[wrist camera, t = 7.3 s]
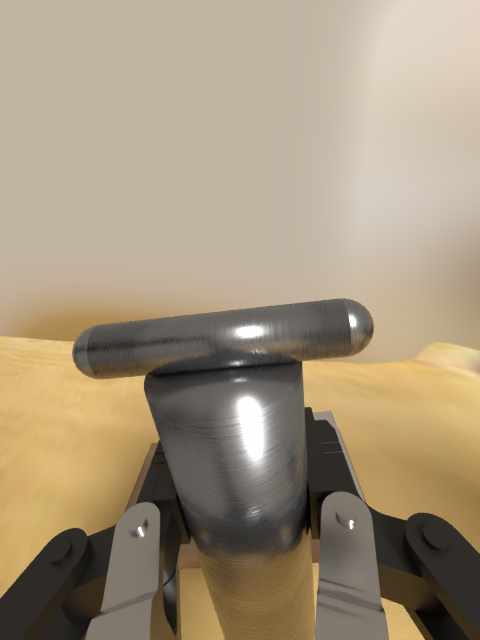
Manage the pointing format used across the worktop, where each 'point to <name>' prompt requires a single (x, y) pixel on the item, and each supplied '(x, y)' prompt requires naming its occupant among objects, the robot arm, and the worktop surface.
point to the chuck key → (237, 442)
